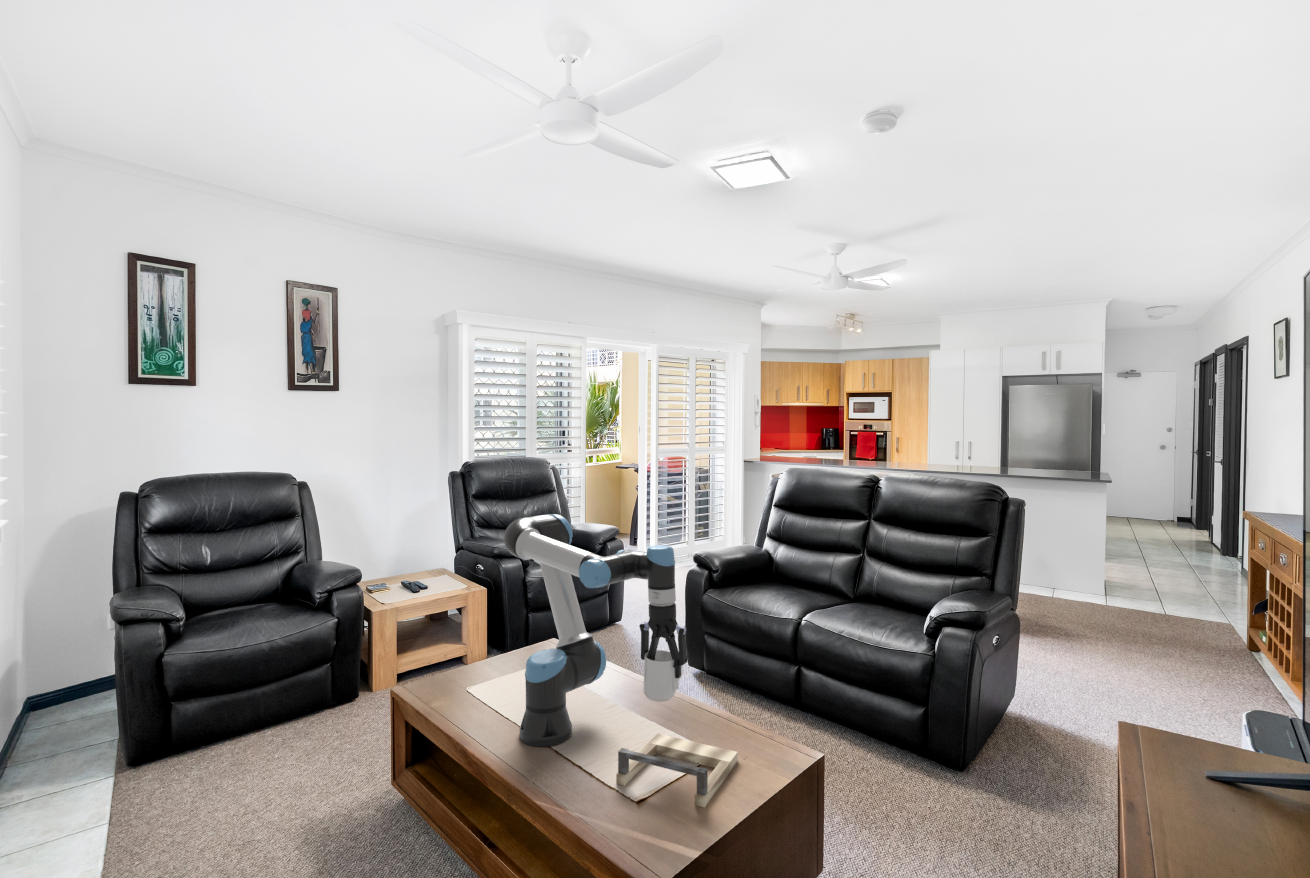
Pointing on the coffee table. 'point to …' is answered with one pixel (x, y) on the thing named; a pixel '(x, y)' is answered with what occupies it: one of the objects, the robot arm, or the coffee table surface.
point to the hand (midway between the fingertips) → (664, 687)
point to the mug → (659, 676)
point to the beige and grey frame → (680, 750)
